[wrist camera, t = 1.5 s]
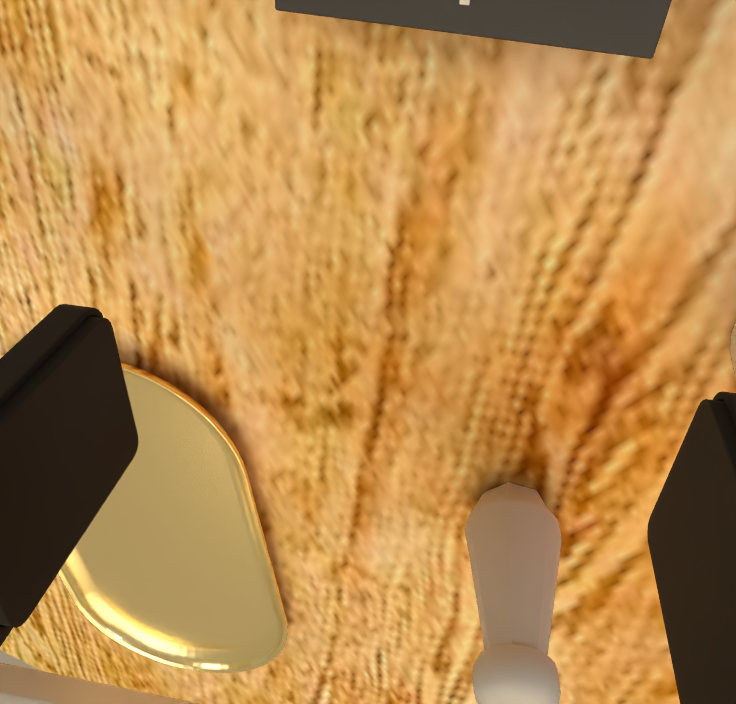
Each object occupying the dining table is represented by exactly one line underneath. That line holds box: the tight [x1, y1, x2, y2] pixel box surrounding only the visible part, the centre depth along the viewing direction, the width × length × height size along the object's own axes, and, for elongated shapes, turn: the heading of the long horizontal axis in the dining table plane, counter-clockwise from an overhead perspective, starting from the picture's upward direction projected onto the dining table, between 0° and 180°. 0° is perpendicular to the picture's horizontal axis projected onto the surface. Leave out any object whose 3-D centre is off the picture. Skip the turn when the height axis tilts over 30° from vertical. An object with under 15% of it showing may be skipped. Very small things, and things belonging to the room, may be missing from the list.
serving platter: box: [58, 362, 288, 673], centre depth 50 cm, size 19×35×2 cm, turn 5°
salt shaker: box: [465, 482, 561, 704], centre depth 37 cm, size 6×6×13 cm
